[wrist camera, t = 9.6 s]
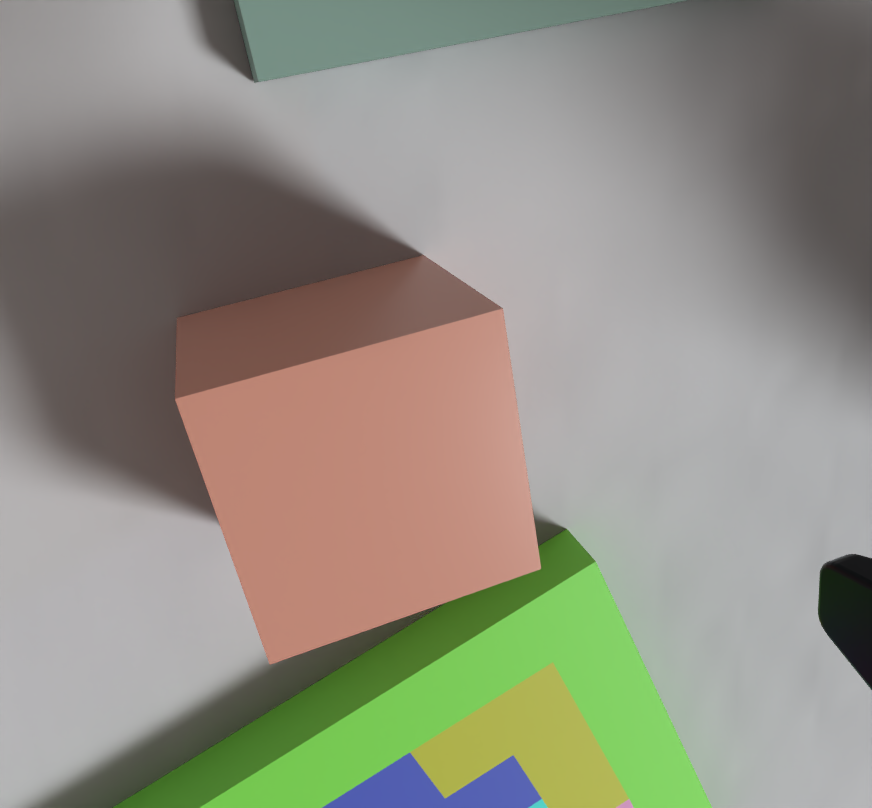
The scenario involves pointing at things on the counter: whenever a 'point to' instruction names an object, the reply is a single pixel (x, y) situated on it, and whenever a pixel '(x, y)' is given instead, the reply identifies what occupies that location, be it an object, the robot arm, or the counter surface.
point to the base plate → (392, 27)
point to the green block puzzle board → (466, 715)
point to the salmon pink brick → (358, 448)
